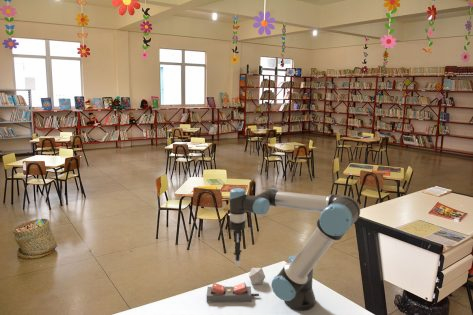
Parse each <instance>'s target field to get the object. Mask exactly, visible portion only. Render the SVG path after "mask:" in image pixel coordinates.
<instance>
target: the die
mask: <svg viewBox="0 0 473 315" xmlns="http://www.w3.org/2000/svg"><path fill="white" fill-rule="evenodd" d="M248 277H249V280H250V282H251V285H263V284H264V281H265V279H266V275H265V273H264V270H263V268H262V267H251V269H250V271H249V274H248Z"/></svg>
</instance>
